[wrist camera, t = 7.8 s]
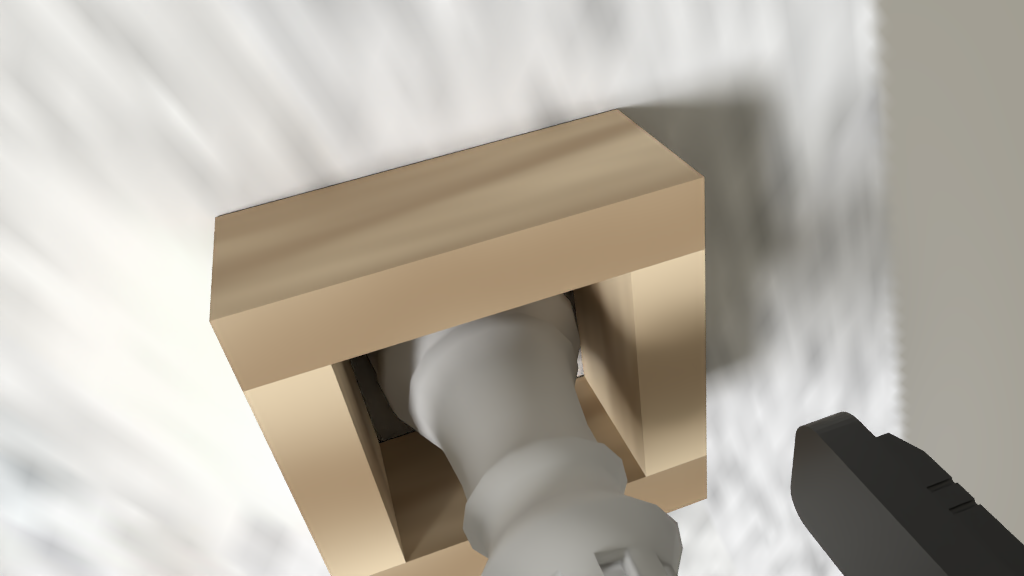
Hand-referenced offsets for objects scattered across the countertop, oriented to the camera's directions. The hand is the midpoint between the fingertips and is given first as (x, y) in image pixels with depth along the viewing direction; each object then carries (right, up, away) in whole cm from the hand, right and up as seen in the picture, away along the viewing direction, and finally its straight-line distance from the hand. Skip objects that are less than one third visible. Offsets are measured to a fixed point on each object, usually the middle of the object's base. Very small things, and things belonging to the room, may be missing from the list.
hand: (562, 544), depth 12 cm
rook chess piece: (-2, +3, +5) cm, 7 cm away
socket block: (-2, +3, +5) cm, 6 cm away
